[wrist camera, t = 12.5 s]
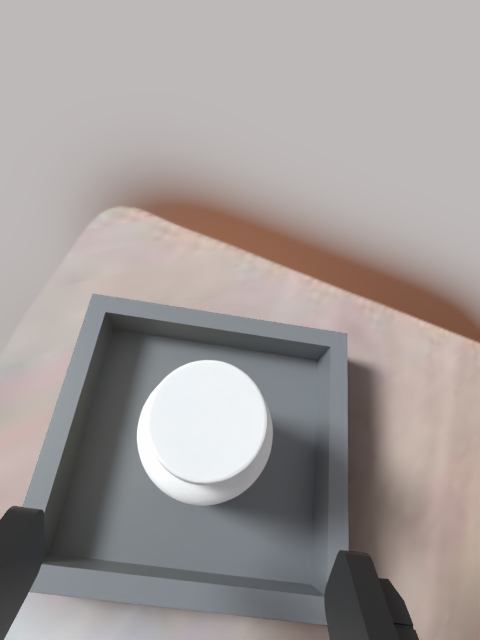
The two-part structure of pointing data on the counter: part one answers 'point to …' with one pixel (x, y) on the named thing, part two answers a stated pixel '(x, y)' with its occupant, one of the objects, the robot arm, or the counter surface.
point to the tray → (181, 518)
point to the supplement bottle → (205, 433)
